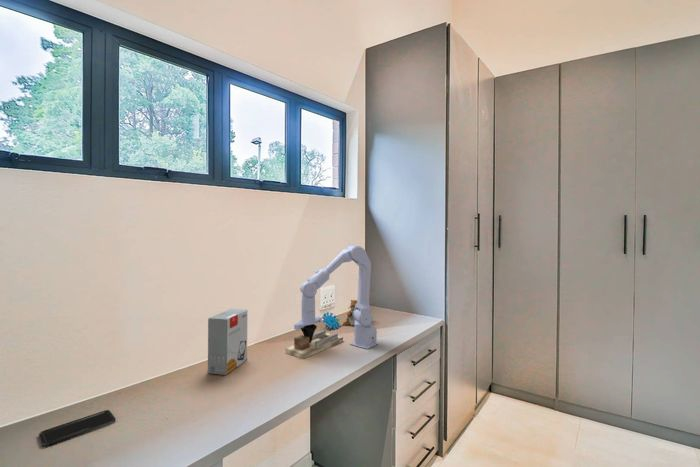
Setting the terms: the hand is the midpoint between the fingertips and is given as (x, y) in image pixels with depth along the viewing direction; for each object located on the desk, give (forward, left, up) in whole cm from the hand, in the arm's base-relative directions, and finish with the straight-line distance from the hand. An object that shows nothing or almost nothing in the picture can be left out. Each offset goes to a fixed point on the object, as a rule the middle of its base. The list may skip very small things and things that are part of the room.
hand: (308, 342), depth 148 cm
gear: (+13, -30, -3) cm, 33 cm away
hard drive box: (+12, +30, -3) cm, 33 cm away
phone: (+8, +77, -4) cm, 78 cm away
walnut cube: (0, +4, -1) cm, 4 cm away
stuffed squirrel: (+7, -43, -3) cm, 44 cm away
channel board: (0, -5, -3) cm, 6 cm away
